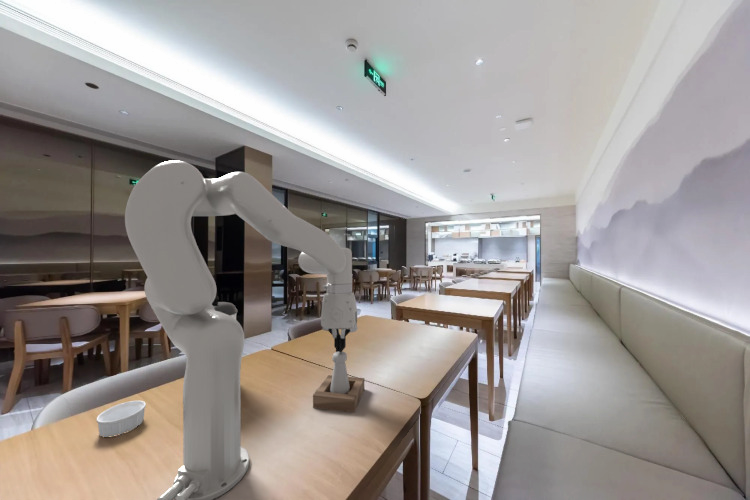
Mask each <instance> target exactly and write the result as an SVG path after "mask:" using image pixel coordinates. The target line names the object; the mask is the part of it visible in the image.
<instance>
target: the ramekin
mask: <svg viewBox="0 0 750 500" xmlns="http://www.w3.org/2000/svg"><path fill="white" fill-rule="evenodd" d="M146 406H147V404H146V402H145V400H144V401H143V400H130V401H126V402H125V401H124V402H122V403H118V404H116V405H112V406H111V407H109V408H107V409H105V410H104V411H102V412H100V413H99V414H98V415H97V416H96V423H97V427H98V434H99V437H101V436H104V437H109V436H114V435H118V434H122V433H124V432H127V431H130V430H131V431H133V430H135V429H136V428H138V427H139V426H140V425H141V424H142V423H143V421H144V417H145V408H146ZM138 425H139V426H138ZM137 426H138V427H137ZM135 427H136V428H135ZM134 428H135V429H134ZM132 429H133V430H132ZM131 431H130V432H131ZM127 433H128V432H127ZM122 435H123V434H122ZM104 437H103V438H104Z"/></svg>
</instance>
